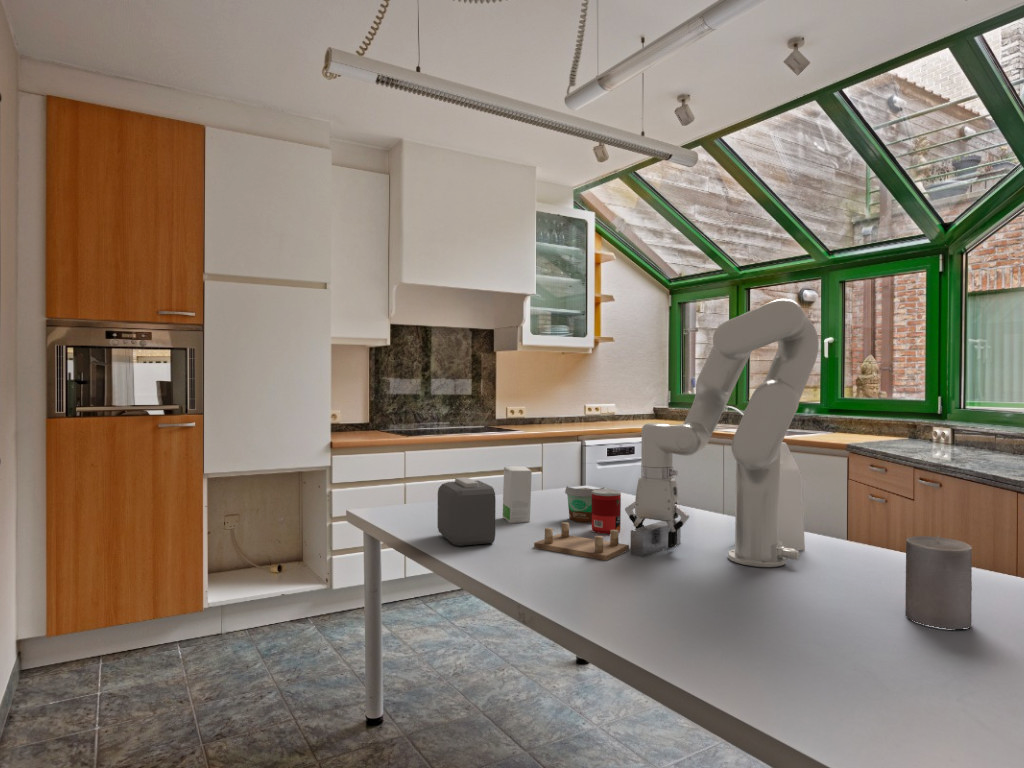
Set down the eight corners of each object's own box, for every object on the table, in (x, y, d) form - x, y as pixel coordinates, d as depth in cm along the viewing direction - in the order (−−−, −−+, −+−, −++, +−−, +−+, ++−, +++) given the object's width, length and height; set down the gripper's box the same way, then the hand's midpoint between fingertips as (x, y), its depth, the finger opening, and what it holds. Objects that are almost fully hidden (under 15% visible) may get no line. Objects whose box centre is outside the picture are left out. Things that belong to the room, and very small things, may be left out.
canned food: (622, 534, 176) (622, 493, 176) (592, 534, 177) (593, 493, 177) (618, 528, 184) (618, 489, 184) (590, 527, 184) (590, 488, 184)
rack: (629, 549, 160) (629, 530, 160) (606, 560, 150) (606, 540, 150) (559, 538, 172) (559, 520, 172) (534, 547, 162) (534, 528, 162)
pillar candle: (910, 607, 120) (909, 526, 120) (974, 619, 114) (974, 533, 114) (900, 622, 113) (900, 536, 112) (969, 636, 106) (969, 545, 106)
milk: (789, 539, 172) (790, 440, 172) (804, 550, 161) (805, 444, 161) (743, 537, 173) (743, 440, 173) (754, 548, 162) (755, 444, 162)
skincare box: (502, 517, 197) (502, 466, 197) (522, 516, 199) (523, 465, 199) (510, 523, 189) (510, 469, 189) (531, 522, 191) (532, 469, 191)
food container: (560, 522, 191) (560, 488, 191) (565, 518, 197) (565, 485, 197) (602, 525, 188) (602, 490, 188) (605, 520, 194) (606, 487, 193)
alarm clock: (495, 545, 164) (495, 483, 164) (451, 549, 160) (452, 486, 160) (474, 531, 179) (475, 474, 179) (434, 534, 175) (434, 476, 175)
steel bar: (668, 542, 169) (668, 519, 169) (680, 544, 167) (680, 521, 167) (630, 555, 156) (630, 530, 156) (643, 558, 153) (643, 532, 153)
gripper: (696, 474, 159) (695, 546, 159) (630, 468, 169) (630, 536, 169) (685, 478, 153) (684, 553, 153) (617, 471, 163) (617, 542, 163)
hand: (656, 544), depth 161 cm, fingers open, 7 cm apart
